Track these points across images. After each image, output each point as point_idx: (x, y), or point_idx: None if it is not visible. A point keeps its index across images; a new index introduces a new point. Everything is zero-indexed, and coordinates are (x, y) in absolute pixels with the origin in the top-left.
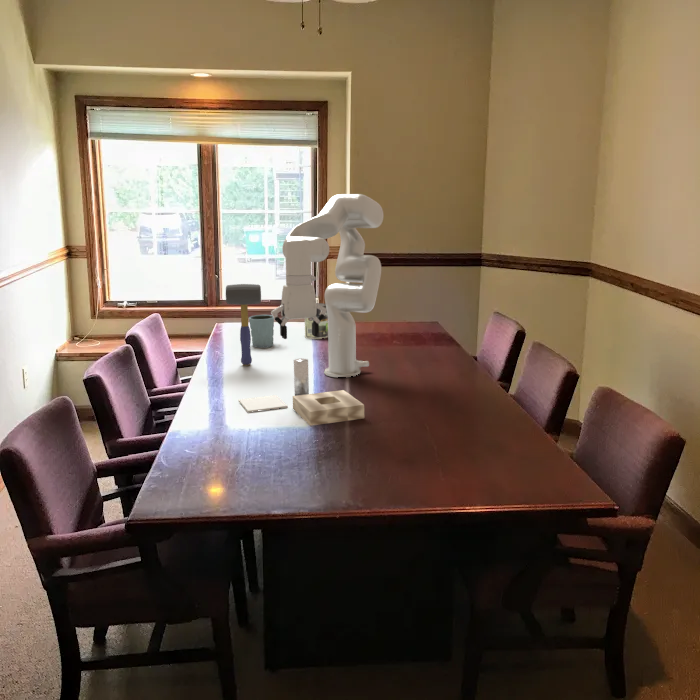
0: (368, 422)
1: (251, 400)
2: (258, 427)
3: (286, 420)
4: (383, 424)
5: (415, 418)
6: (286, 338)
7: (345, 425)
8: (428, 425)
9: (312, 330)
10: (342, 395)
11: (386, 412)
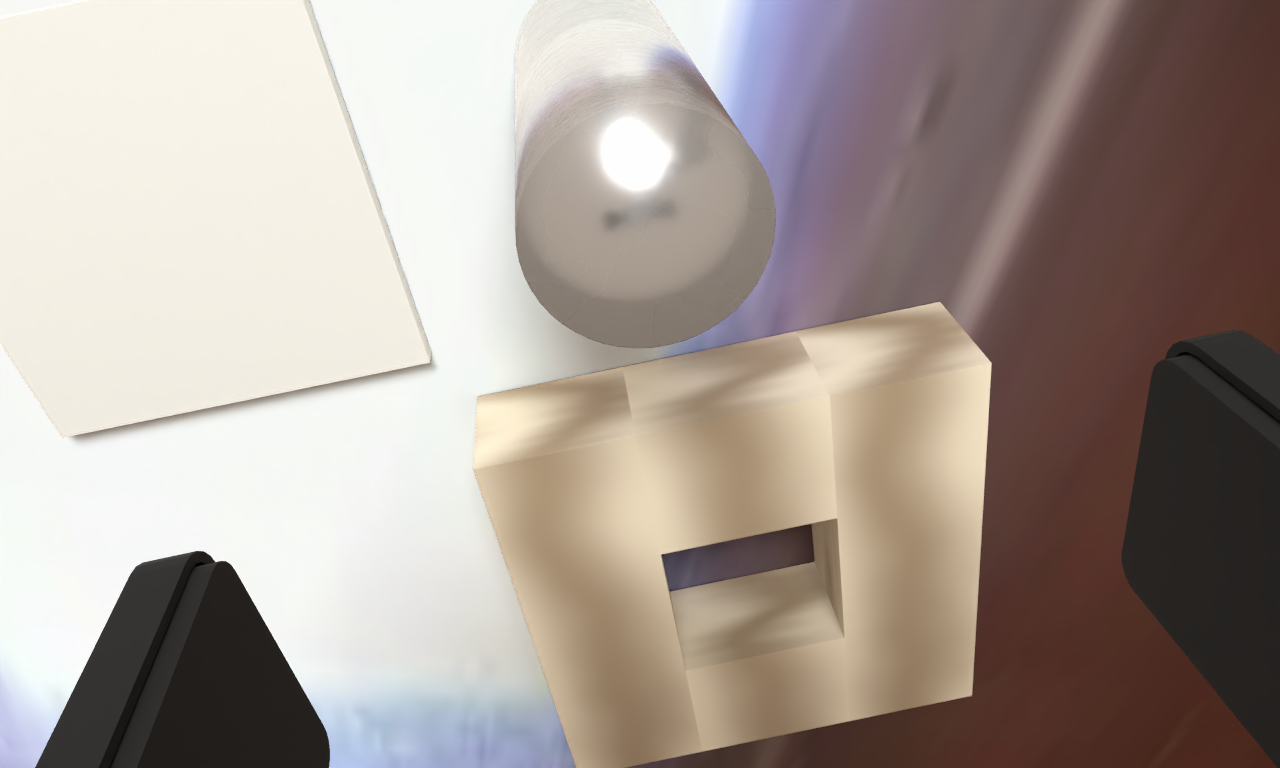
0: None
1: (5, 130)
2: None
3: (420, 605)
4: (989, 703)
5: None
6: (317, 742)
7: None
8: (1192, 728)
9: (1253, 482)
10: (915, 505)
11: (1118, 541)
